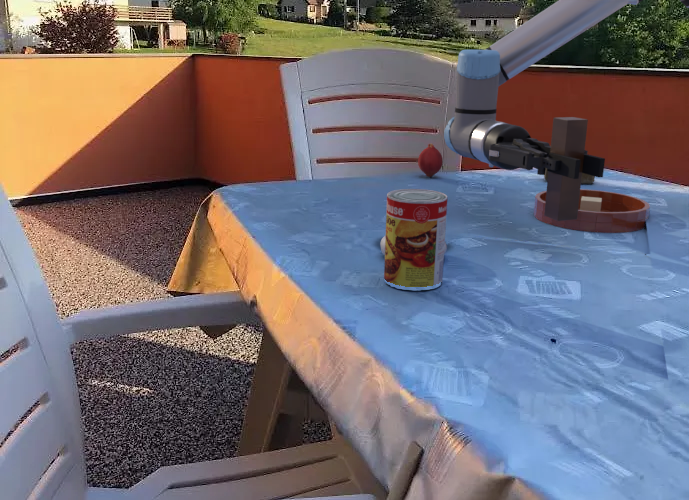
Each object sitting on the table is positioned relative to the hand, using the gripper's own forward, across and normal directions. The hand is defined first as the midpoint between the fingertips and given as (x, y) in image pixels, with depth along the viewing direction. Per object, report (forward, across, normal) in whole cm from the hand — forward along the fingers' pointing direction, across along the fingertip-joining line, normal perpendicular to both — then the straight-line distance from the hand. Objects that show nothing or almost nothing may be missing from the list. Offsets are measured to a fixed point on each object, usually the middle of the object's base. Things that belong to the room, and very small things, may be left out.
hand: (589, 168), depth 101 cm
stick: (-5, 0, -8) cm, 10 cm away
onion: (-67, -8, -14) cm, 68 cm away
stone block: (-54, -38, -14) cm, 67 cm away
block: (-21, -18, -14) cm, 31 cm away
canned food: (0, +27, -14) cm, 31 cm away
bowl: (-21, -18, -14) cm, 31 cm away
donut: (-10, +22, -14) cm, 28 cm away
